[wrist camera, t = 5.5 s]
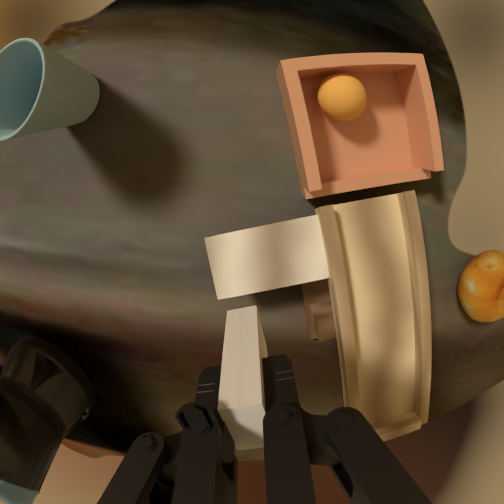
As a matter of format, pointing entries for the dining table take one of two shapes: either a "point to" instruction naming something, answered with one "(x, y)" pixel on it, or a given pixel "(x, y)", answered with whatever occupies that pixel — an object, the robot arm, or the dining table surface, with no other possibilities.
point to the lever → (352, 295)
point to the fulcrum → (318, 310)
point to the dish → (361, 123)
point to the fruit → (483, 287)
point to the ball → (342, 96)
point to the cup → (42, 90)
